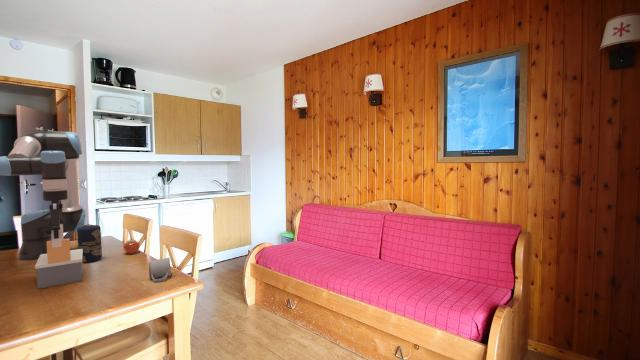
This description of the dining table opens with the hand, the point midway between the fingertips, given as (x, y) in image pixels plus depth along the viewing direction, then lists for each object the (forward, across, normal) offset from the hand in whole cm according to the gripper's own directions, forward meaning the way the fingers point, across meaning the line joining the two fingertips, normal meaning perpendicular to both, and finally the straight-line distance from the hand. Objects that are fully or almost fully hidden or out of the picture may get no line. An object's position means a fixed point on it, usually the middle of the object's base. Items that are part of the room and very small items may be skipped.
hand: (58, 243), depth 129 cm
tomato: (+16, -32, +28) cm, 46 cm away
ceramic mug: (+17, +16, +34) cm, 41 cm away
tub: (+16, -8, 0) cm, 18 cm away
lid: (+10, -8, 0) cm, 13 cm away
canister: (+16, -30, +10) cm, 36 cm away
